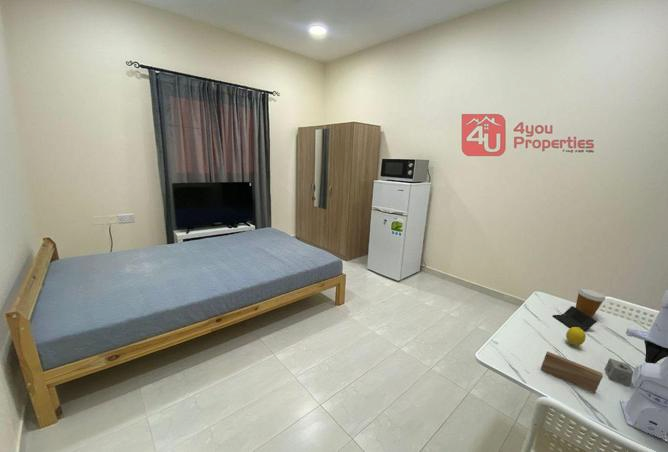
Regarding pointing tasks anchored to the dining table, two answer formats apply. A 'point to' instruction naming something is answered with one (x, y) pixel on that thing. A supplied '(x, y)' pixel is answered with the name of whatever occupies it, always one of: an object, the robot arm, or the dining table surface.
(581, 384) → the brown wooden block
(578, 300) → the disposable coffee cup
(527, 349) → the dining table surface
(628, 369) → the dice cube
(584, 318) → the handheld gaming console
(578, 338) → the lemon
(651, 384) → the robot arm
